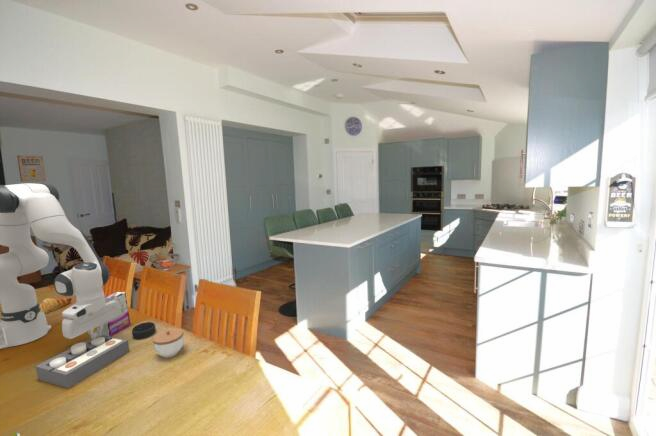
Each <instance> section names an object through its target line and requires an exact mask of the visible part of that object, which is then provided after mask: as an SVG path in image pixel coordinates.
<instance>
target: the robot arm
mask: <svg viewBox="0 0 656 436" xmlns="http://www.w3.org/2000/svg"><path fill="white" fill-rule="evenodd" d="M59 200H60V193H59V190H58V189H57V187H56V186H55V185H52V184H50V183H43V182H41V183H33V182H32V183H31V182H29V183H26V182H24V183H15V184H5V185H3V184H0V246H2V247H8V249H9V250H8V252H5V253H0V307H1V311H0V350H2V349H6V348H11V347H16V346H20V345H21V346H22V345H25V344H28V343H31V342H33V341H36V340H39V339H40V338H42V337H44V336H46V335H47V334H48V332H49V331H50V330H51V329H52V328H53V327H52V325H50V324H48V321H47V319H46V318H47V317H46V315H45V314H46V313H45V314H44V313H43V312H40V305H39V303H40V302H38V298H37V293H36V289H35V287H33V286H32V285H30V284H28V283H20V282H19V280H18V277H22V276H24V275H29V274H32V273H35V272H37V271H40V270H41V269H44V268H46V267H47V266H48V264H49V261H50V256H49V254H48V253H47V251H45V250H44V249H43V248H41V247H38V246H37V245H35V243H34V242H33V240H32V237H31V231H32V233H33V235H34V236H35V237H36V238H37V239H39V240H41V241H43V242H46V243H50V244H59V245H60V244H61V245H67V246H70V247H72V248H74V249H75V251H77V253H78V255H79V256H80V258H81V259H82V260H83V262H80V263H77V264H76V265H73V267H72V268H71V269H69V270H67V271H63V272H61V273H59V274H57V276H56V277H55V278H54V282H53V285H54V286H53V287H54V291H55V292H56V293H57V294H58V295H61V296H64V297H72V296H75V302H74V303H73V304H72V305H70V306H69V307H68V308H66V309H64V310H63V311H62V312H61V315H62V317H63V319H62V321H61V331H62V336H63V337H64V338H65V339H71V340H72V339H76V338H78V337H79V336H81V335H82V334H83V335H84V334H85V333H88V334H89V335H90V339H91V338H92V339H95V338H97V337H99V336H101V335H102V334H101V331H102V329H103V324H104V323H106V322H109V321H111V320H113V319H115V318H117V317H119V316H120V315H121V308H120V305H119V303H118V302H119V301H118V297H117V296H111V297H109V298H106V299H105V297H106V296H105V292H104V289H103V287H104V286H105V285H106V284H107V283H108V281H109V279H110V277H111V271H110V269H109V268H108V266H107V264H105V263H104V262H103V260H102V259H101V257H100V255H98V253H97V252H96V249H95V248H94V246H93V245H92V243H91V242H90V240H89V238H88V237H87V236H86V234H85V233H84V232H83V230H82V229H80V228H77V227H76V226H74V225H73V224H72V223H71V222H70V221H69V219H68V217H67V216H66V213H65V211H64V209H63V207H62V205H61V203H60V202H59ZM96 328H97V329H96ZM95 329H96V331H95Z"/></svg>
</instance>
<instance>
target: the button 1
mask: <svg viewBox="0 0 656 436" xmlns="http://www.w3.org/2000/svg"><path fill="white" fill-rule="evenodd" d="M65 363H67V362H66V358H65V357H60V358H56V359H54V360H52V361H51V362H50V363H49V364H50V366H51V367H54V368H55V369H56V368H57V367H59V366H61V365H63V364H65Z"/></svg>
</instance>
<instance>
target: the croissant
mask: <svg viewBox="0 0 656 436" xmlns="http://www.w3.org/2000/svg"><path fill="white" fill-rule="evenodd" d="M71 301H72V298H71V297H63V298H59V297H57V298H54V297H46V298H45V299H43V300H42V301H40V302H38V303H39V305H40V312H43V313H44V314H49V313H51V312H54V311H56V310H58V309H60V308H62V307H65V306H67V305H68V304H69V303H70V302H71Z"/></svg>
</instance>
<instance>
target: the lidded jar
mask: <svg viewBox="0 0 656 436" xmlns="http://www.w3.org/2000/svg"><path fill="white" fill-rule="evenodd" d="M184 333H185V332H184V330H183V329H182V328H179V327H172V328H171V327H170V328H167V329H164V330H161V331H159V332H157V333H156V334H155V335H154V336H153V337H152V343H153V347H154V350H155V352H156V354H158V355H159V356H161V357H162V358H166V359H167V358H171V357H174V356H176V355H178V353H180V350H181V349H182V348H183V346H184V340H185V339H184V337H185V334H184Z"/></svg>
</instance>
